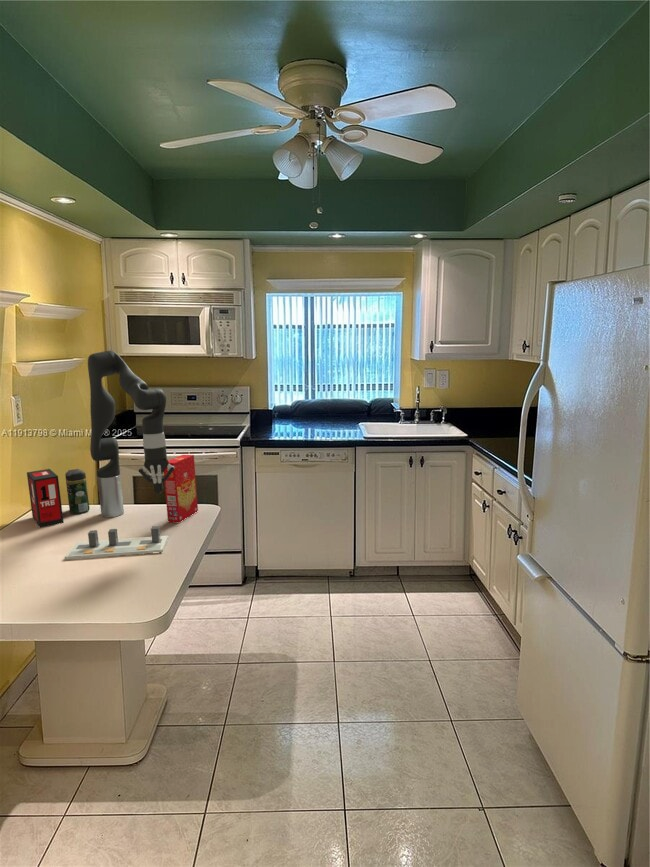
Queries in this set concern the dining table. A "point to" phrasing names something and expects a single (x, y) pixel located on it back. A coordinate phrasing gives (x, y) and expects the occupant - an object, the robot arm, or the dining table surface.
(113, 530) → the middle switch
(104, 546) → the switch panel
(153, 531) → the switch
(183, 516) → the food packaging
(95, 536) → the switch
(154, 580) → the dining table surface
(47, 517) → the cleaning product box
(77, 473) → the coffee jar
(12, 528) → the dining table surface
